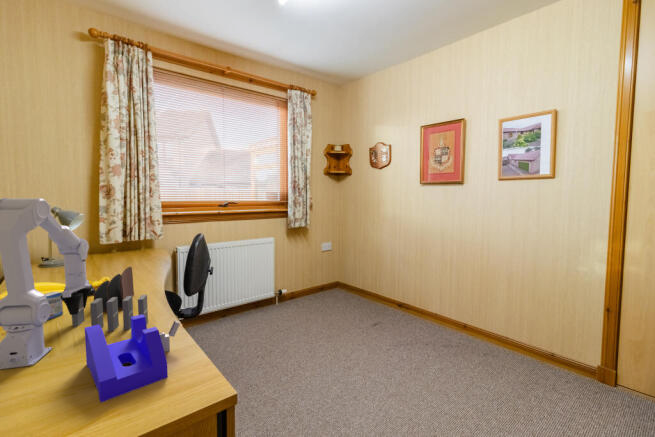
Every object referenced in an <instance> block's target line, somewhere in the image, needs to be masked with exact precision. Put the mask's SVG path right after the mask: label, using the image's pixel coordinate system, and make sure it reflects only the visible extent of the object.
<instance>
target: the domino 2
mask: <svg viewBox="0 0 655 437" xmlns="http://www.w3.org/2000/svg"><path fill="white" fill-rule="evenodd" d="M89 304H90V306H89V307H90V320H91V321H90V323H91V326H94V325H98V324H99V325H100V326H101V328H102V329H104V312H103V306H102V298H99V299H96V300H94V299H93V301H91V302H90V303H89Z"/></svg>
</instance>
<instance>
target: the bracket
mask: <svg viewBox="0 0 655 437" xmlns="http://www.w3.org/2000/svg"><path fill="white" fill-rule="evenodd" d="M130 332H131V334H130V335H131V336H130V337H131V338H128V339H125V340H120V341H116V342H112V343H109V344H108V342H107V340H106V336H105V334H104V329H103V328H101V326H100V325H99V324H98V325H94V326H92V325H91V326H86V327H84V342H85V356H86V358H85V359H86V367H87V368H88V369H89V371H90V374H91V378H92V379H93V382H94V384H95V386H96V390H97V392H98V399H99V401H100V403H105V402H106V401H109V400H112V399H114V398H117V397H119V396H123V395H125V394H127V393H130V392H132V391H135V390H138V389H140V388H144V387H146V386H148V385H150V384H154V383H156V382H159V381H162V380H164V379H167V378H168V377H169V376H168V375H169V374H168V360H167V357H166V354H165V352H164V349H163V345H162V341H161V338H160V334H159V333H160V331H159V329H158V328H157V327H156V326H153V327H150V328H148V327H147V325H146V318H145V316H144V315H143V314H142V315H138V314H137V315H133V317H131V328H130ZM127 363H129V364H131V365H129V366H124V364H127Z"/></svg>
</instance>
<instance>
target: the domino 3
mask: <svg viewBox="0 0 655 437" xmlns="http://www.w3.org/2000/svg"><path fill="white" fill-rule="evenodd" d="M106 303H107V312H106V315H107V316H106V318H107V332H108V333H110V332H114V331H115V330H116V329H117V328H118V327H119V325H120V324H119V322H120V320H119V310H118V299H117V297H112V298H111V299H110V300H109V301H107V302H106Z"/></svg>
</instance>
